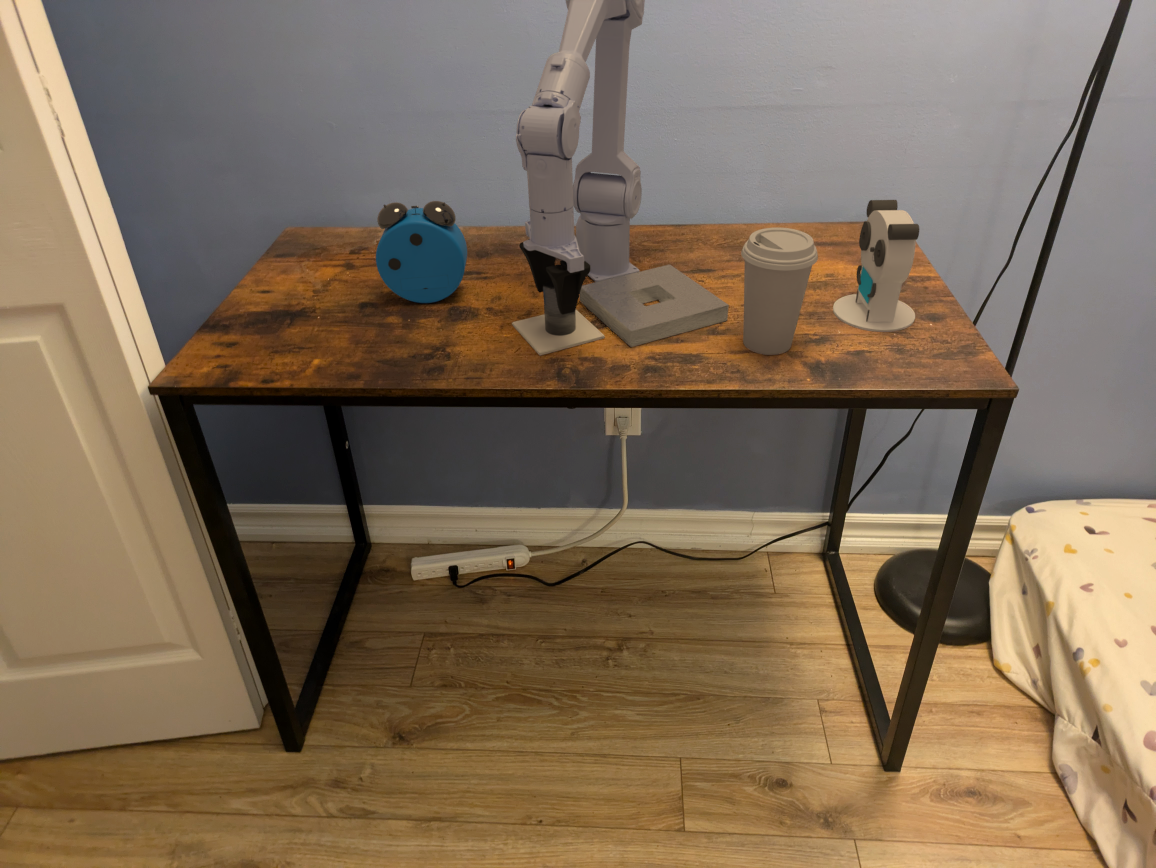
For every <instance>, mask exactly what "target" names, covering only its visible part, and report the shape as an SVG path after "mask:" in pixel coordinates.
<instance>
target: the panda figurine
mask: <svg viewBox="0 0 1156 868" xmlns="http://www.w3.org/2000/svg"><path fill="white" fill-rule="evenodd" d="M898 204H899V203H898V201H897V199H871V200H870V199H869V201H868V203H867V206H866V217H867V219H866V220H865V221H864V222H862V223H863V224H862V226H861V230H860V233H859V240H858V246H859V249H860V260H861V265H860V264H859V265H858V266H857V269H856V283H857V285H858V287H857V289H856V290H857V291H856V293H854V294H848V295H845V296H842V297H840V298H838V299H837V300H836V301H834V303H833V306H832V312H833V315H835V317H836V318H837V320H839V321H840V322H842V323H844V324H846V325H848V326H850V327H853V328H857V329H859V330H864V331H869V332H874V333H875V332H876V333H878V332H879V333H891V332H898V331H901V330H905V329H907V328H909V327H911V326H912V325H913V324H914V323H915V319H916V313H915V311H914V310H913V308H912V307H911V306H909V305H908V304H907V303H905V302H903V301H901V300H899V298H900V295H901V290H902V286H903V283H905V282H906V281H907V279H908V277H909V276H910V274H911V270H912V268H913V263H914V259H915V253H916V245H917V244H916V243H917V240H918V238H919V237H920V236H919V235H920V226H919V224H918V223H915V222H914V221H913V219H912V217H911V215H910V213H908V211H906V210H903V209H899V210H898V206H899V205H898Z"/></svg>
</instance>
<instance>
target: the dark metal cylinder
mask: <svg viewBox="0 0 1156 868" xmlns="http://www.w3.org/2000/svg"><path fill="white" fill-rule="evenodd" d="M542 293H543V315H545V330H546V332H548V333H549V334H552V335H557V336H563V335H568V334H571V333H572V332H574V331H575V329H576V313H575V312H572V313H568V314H564V315H562V314H561V313H560V311H559V308H558V304H557V298H556V292H555V288H554V285H553V282H552V281H549V282H547V283H545V284H544V285H543V292H542Z"/></svg>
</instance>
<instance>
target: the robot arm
mask: <svg viewBox="0 0 1156 868" xmlns="http://www.w3.org/2000/svg"><path fill="white" fill-rule="evenodd" d="M645 2H646V0H565V4H566V8H567V13H566V18H565V21H564V27H563V30H562V31H563V32H562V35H561V40H560V45H559V49H558V51H557V52H555V53H552V54H550V55H549V56H548V58H547V59H546V61H545V64H544V67H543V70H542V74H541V77H540V79H539V83H538V86H537V89H536V92H535V94H534V97H533V101H532V103H531V105H530V106H528V108H526V109H523V110H522V111H521V112H520V114H519V116H518V119H517V124H516V135H515V142H516V147H517V150H518V152H519V153H520V157H521V165H522V168H523V170H524V171H525V172H526V176H527V177H526V178H527V189H528V191H527V193H528V206H529V208H528V209H529V220H528V221H525V222H524V227H525V235H526V236H527V237H528V238H529V239H526V240H524V241H522V242H520V243H519V244H518V245H519V248H520V250H521V252H522V253H523V254H524V257H525V258H526V260H527V263H528V266H529V269H530V272H531V274H532V278H533V281H534V282H533V283H534V285H535V287H536V290H537V292H538V293H539V294H540V293H543V285H544V284H545V283H547V282H549V281H552V282H553V285H554V288H555V292H556V298H557V304H558V308H559V311H560V313H561V314H562V315H564V314H568V313H572V312H575V310H577V306H578V304H579V303H578V302H579V299H580V291H581V287H582V285H584V283H585V280H586V279H587V277H590V278H591V279H592V281H594V283H595V282H599V281H603V280H607V279H611V278H616V277H620V276H624V275H628V274H632V273H636V272H640V269H639V268H638V267H637V266H635V265H634V264H632V263H631V262H630V240H631V239H630V237H631V236H630V230H631V229H630V228H631V226H630V225H631V223H630V222H631V221H630V219H631V220H632V219H633V218H634V217H635V216H636V215H637V214H638V212H639V210H640V206H641V201H642V195H643V194H642V190H643V189H642V188H643V187H642V183H641V172H642V171H641V168H640V165H639V164H637V162H635V160H633V159H632V158H631V157H630V156H629V155H628V154H626V152H625V151H624V150H625V131H626V117H627V116H626V112H627V97H628V96H627V95H628V80H629V79H628V77H629V63H630V62H629V61H630V60H629V59H630V45H631V44H630V43H631V37H632V33H633V30H634V29H636V28H638V27H640V26H642V24H643V17H644V14H645ZM594 44H595V54H594V55H595V57H594V83H593V84H594V85H593V88H594V89H593V110H592V112H593V113H592V136H591V137H592V138H591V139H592V140H591V152H590V153H589V154H588V155H587V156H585V157H584V158H583V159H581V160H580V161H579V162H578V163H577V165H576V167H575V173H574V181H573V156H575V153H576V151H577V148H578V144H579V138H580V128H581V127H580V126H581V123H582V122H581V119H582V117H581V116H582V115H581V113H580V110H581V105H582V102H583V100H584V96H585V93H586V91H587V87H588V84H589V82H590V81H589V80H590V78H591V72H590V69H589V68H590V67H589V66H588V65H587V63H586V62H587V60H588V59H589V56H590V53H591V51H592V49H593V46H594ZM574 209H575V212H576V213H578V214H580V215H579V216H578V218H577V220H576V224H575V215H574V214H575V213H574ZM556 259H558V260H559V263H558V264H556Z"/></svg>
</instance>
